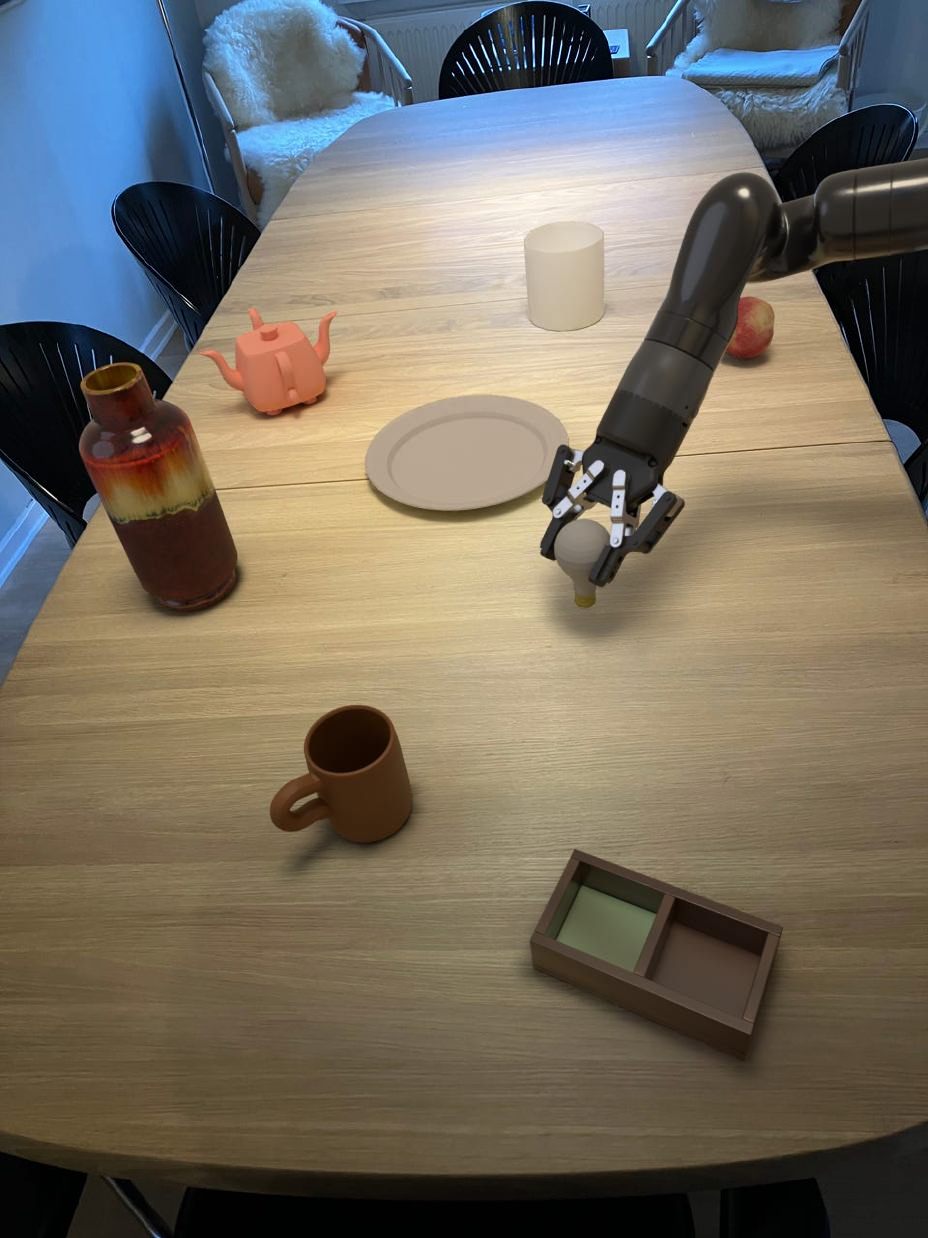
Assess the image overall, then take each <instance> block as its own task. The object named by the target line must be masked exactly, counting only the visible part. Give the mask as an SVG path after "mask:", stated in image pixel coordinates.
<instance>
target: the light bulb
mask: <svg viewBox="0 0 928 1238" xmlns="http://www.w3.org/2000/svg"><path fill="white" fill-rule="evenodd" d="M610 535H611V533H609V531H608V529H607V528H606V527H605V526H604V525H603V524H601V523H600V522H598V521H596V520H593V519H590V518H578V519H577V520H574V521H572V522H570V523H568V524H567V525H565V526H564V527H563V528H562V529H561V530H560V532H559V533H558V535H557V537H556V540H555V544H554V554H555V557H556V560H555V561H556V564H557V565H558V566H559V568H560V569H561V570H562V571H563V572H564V573H565V575H566V576H568V577H569V579H570V580H571V581H572V585H573V586H572V587H573V588H572V589H573V591H574V592H573V594H574V595H573V596H574V604H575V606H577V608H580V609H589V608H593V607H594V606H595V605H596V603H597V590H598V586H596V585H594V584H592V583H590V582H589V576H590V574H591V572H592V570H593V568H594V566H595V564H596V562H597V560H598V558H599V556H600V554H601V552H602V550H603V549H604V547H605V545H608V546H609V545H610Z"/></svg>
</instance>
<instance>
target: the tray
mask: <svg viewBox="0 0 928 1238" xmlns="http://www.w3.org/2000/svg"><path fill="white" fill-rule="evenodd" d="M783 930H784V927H783V926H781V925H779V924H776V923H773V922H771V921H769V920H766V919H763V918H761V917H757V916H755V915H752V914H750V913H748V912H744V911H742V910H739V909H736V908H734V907H732V906H728V905H726V904H723V903H721V902H718V901H715V900H713V899H709V898H708V897H704V896H702V895H699V894H697V893H694V892H691V891H689V890H686V889H683V888H681V887H678V886H675V885H673V884H670V883H667V882H665V881H662V880H659V879H657V878H653V877H651V876H648V875H646V874H643V873H640V872H638V871H635V870H633V869H630V868H628V867H625V866H622V865H619V864H616V863H614V862H611V861H608V860H606V859H603V858H601V857H598V856H595V855H593V854H590V853H587V852H585V851H581V850H579V849H577V848H574V849H573V851H572V853H571V855H570V858H569V859H568V861H567V863H566V865H565V867H564V869H563V871H562V874H561V876H560V878H559V879H558V882H557V884H556V886H555V888H554V890H553V892H552V894H551V896H550V898H549V900H548V902H547V904H546V906H545V908H544V910H543V913H542V914H541V916H540V918H539V920H538V922H537V924H536V927H535V929H534V931H533V932H532V935H531V937H530V939H529V947H530V953H531V961H532V967H533V969H535V970H538V971H539V972H543V973H545V974H547V975H549V976H552V977H554V978H555V979H558V980H561V981H563V982H565V983H567V984H569V985H572V986H574V987H577V988H579V989H581V990H583V991H586V992H588V993H590V994H593V995H594V996H597V997H599V998H601V999H604V1000H606V1001H608V1002H610V1003H613V1004H614V1005H617V1006H619V1007H622V1008H623V1009H626V1010H629V1011H631V1012H633V1013H636V1014H637V1015H639V1016H643V1017H644V1018H647V1019H649V1020H652V1021H654V1022H656V1023H658V1024H660V1025H662V1026H665V1027H667V1028H669V1029H671V1030H674V1031H676V1032H679V1033H681V1034H683V1035H685V1036H688V1037H690V1038H692V1039H694V1040H697V1041H698V1042H701V1043H703V1044H705V1045H708V1046H710V1047H712V1048H715V1049H716V1050H717V1049H718V1050H719V1051H721V1052H724V1053H726V1054H728V1055H731V1056H733V1057H735V1058H737V1059H740V1060H742V1061H746V1058H747V1055H748V1051H749V1048H750V1046H751V1042H752V1038H753V1035H754V1031H755V1028H756V1025H757V1022H758V1018H759V1014H760V1011H761V1008H762V1005H763V1002H764V998H765V994H766V992H767V988H768V984H769V982H770V977H771V974H772V971H773V968H774V964H775V960H776V957H777V954H778V949H779V947H780V941H781V937H782V933H783Z"/></svg>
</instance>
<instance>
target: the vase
mask: <svg viewBox="0 0 928 1238" xmlns="http://www.w3.org/2000/svg"><path fill="white" fill-rule="evenodd" d="M80 389H81V392H82V395H83V396H84V399H85V401H86V403H87V407H88V409H89V411H90V413H91V417H92V418H91V419H90V420H89V421H88V423H87V424H86V426H85V427H84V429H83V431H82V432H81V435H80V437H79V442H78V452H79V455H80V458H81V460H82V463H83V465H84V467H85V469H86V472H87V474H88V476H89V478H90V481H91V483H92V484H93V487H94V489H95V491H96V493H97V495H98V498H99V499H100V502H101V503H102V506H103V508H104V510H105V512H106V515H107V516H108V520H109V521H110V524H111V525H112V528H113V529H114V532H115V533H116V536H117V538H118V540H119V542H120V544H121V546H122V549H123V551H124V552H125V555H126V557H127V559H128V561H129V564H130V565H131V567H132V569H133V572H134V573H135V576H136V577H137V579H138V581H139V583H140V585H141V586H142V589H143V590H144V591H145V592H146V593H148V594H149V595H150V596H152V597H155V598H156V599H157V601H158V603H159V604H160V605H161V606H162V607H164V608H165V609H167V610H170V611H172V612H177V613H190V612H196V611H201V610H203V609H207V608H208V607H211V606H213V605H215V604H217V603H218V602H220V601H222V600H223V599H224V598H225V597H227V596H228V595H229V593H231V591H232V589H233V588H234V586H235V584H236V582H237V581H236V580H237V573H236V570H235V569H236V566H237V562H238V551H237V548H236V544H235V541H234V538H233V536H232V533H231V529H230V527H229V524H228V522H227V518H226V516H225V513H224V510H223V508H222V505H221V501H220V499H219V496H218V493H217V490H216V488H215V485H214V482H213V479H212V476H211V473H210V471H209V468H208V466H207V462H206V460H205V457H204V454H203V451H202V448H201V446H200V443H199V441H198V437H197V435H196V433H195V430H194V427H193V425H192V422H191V420H190V418H189V416H188V414H187V413H186V412H185V411H184V410H183V409H182V408H180V407H179V406H177V405H176V404H175V403H171V402H169V401H166V400H164V399H160V398H154V396H153V393H152V391H151V388H150V386H149V383H148V380H147V379H146V376H145V374H144V371H143V370H142V368H141V366H140V365H139V364H136V363H133V362H116V363H111V364H107V365H104V366H101V367H99V368H96V369H94V370H92V371H91V372H89V373H88V374H87V375H85V376H84V377H83V378H82V379H81V382H80Z"/></svg>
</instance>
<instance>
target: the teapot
mask: <svg viewBox="0 0 928 1238" xmlns="http://www.w3.org/2000/svg"><path fill="white" fill-rule="evenodd" d="M247 312H248V315H249V317H250V321H251V324H252V329H253V330H251V331H248V332H245V333H243V334H241V335H239V336H238V337H236V340H235V352H234V353H235V354H234V357H235V359H234V361H235V369H233V368H232V367H230V366H229V365H228V363H227V360H226V359H225V358H224V356H223V355H222V353H220V352H219V351H217V350H214V349H213V350H212V349H207V350H201V351H199V352H198V355H201V356H204V357H206V358H209V359H211V360H212V362H213V363H214V364H215V365H216V366H217V368H218V370H219V372H220V375H221V377H222V378H223V380H224V382H225V383H226V384H227V385H228V386H229V387H231V389H234V390H236V391H241V392H242V393H243V396H244V397H245V398H246V399H247V401H248V402H249V403H250V404H251V406H252V407H254V409H255V410H256V411H258V412H263V413H264V412H265V413H266V414H267V415H268V416H276V415H279V414H281V413H282V412H283V409H285V408H289V407H292V406H295V405H298V404H301V403H302V404H304V405H310V404H314V403H315V402H317V401H318V398H317V396H320V395H321V394H323V392H324V391H325V389H326V384H327V383H326V382H327V378H326V373H325V370H324V367H323V366H325V364H326V363H327V362H328V359H329V357H330V354H331V342H330V325H331V323H332V321H333V319H335V317H336V315H337V314H338V311H335V310H334V311H332V312H330V313H328V314H326V315H324V316H323V317H322V318H321V320H320V322H319V325H318V338H317V342H316V343H315V345H313V344H312V343H311V341H310V340H309V338H308V336H307V335H306V334H305V332H304V331H303V330H302V328H301V327H300V326H299V325H298V324H297V323H296V322H294V321H292V320H291V321H283V322H282V321H281V322H278V323H264V321H263V318H262V317H261V315H260V313H259V311H258V310H257V309H256V308H254V307H249V308H248V311H247Z"/></svg>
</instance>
